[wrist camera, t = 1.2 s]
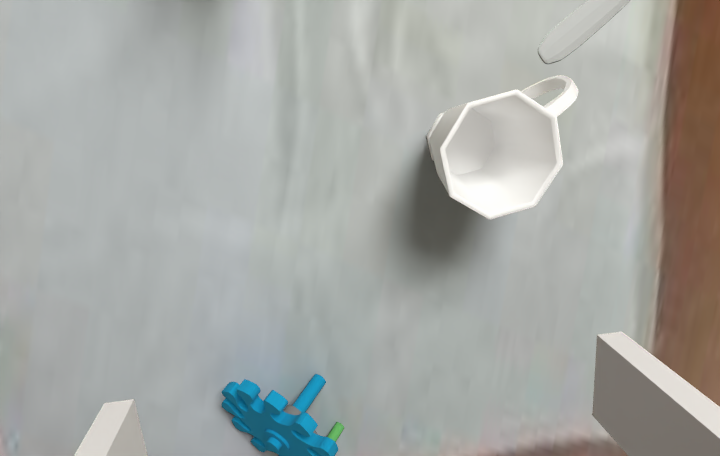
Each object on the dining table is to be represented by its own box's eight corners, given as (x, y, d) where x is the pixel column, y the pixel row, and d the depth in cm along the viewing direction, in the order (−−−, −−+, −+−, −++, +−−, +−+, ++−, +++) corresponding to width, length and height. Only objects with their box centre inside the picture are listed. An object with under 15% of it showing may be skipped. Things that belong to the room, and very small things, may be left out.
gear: (190, 385, 36) (287, 413, 30) (245, 325, 40) (341, 337, 33) (267, 479, 41) (364, 521, 34) (309, 418, 45) (404, 444, 38)
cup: (386, 130, 34) (413, 145, 27) (508, 35, 34) (571, 22, 26) (444, 209, 37) (484, 245, 29) (560, 121, 36) (633, 134, 28)
